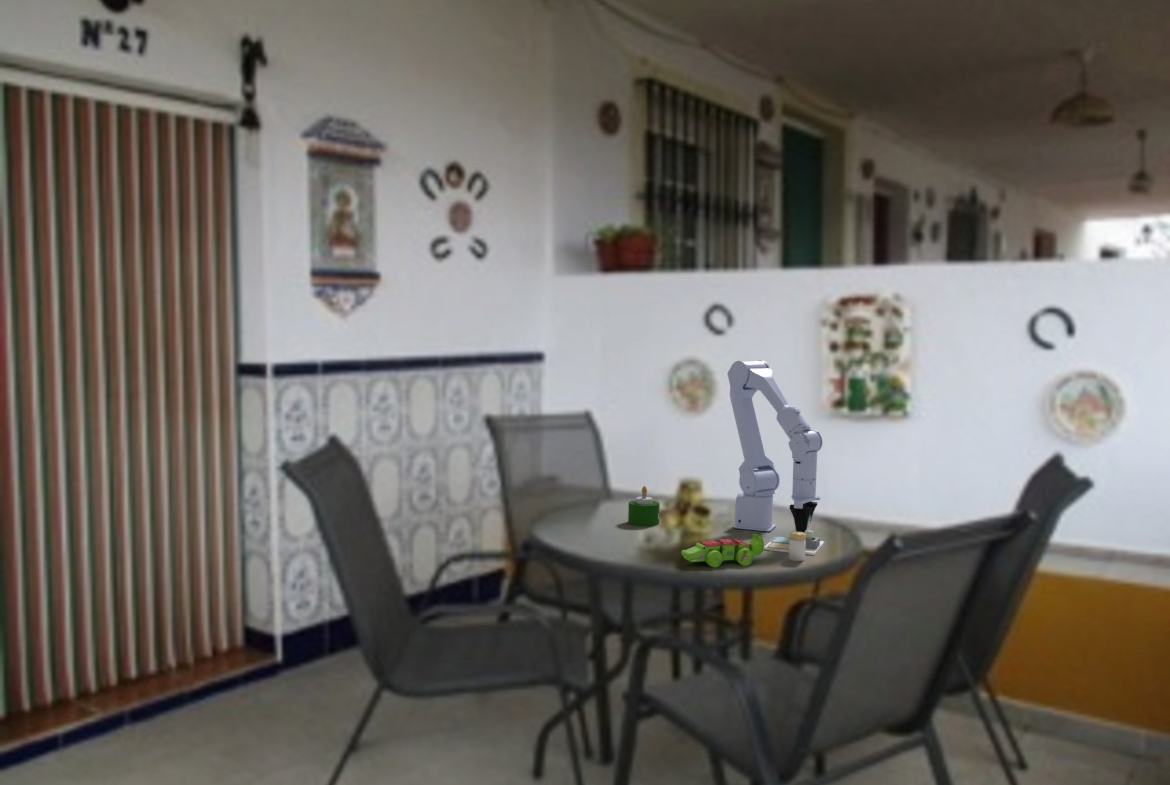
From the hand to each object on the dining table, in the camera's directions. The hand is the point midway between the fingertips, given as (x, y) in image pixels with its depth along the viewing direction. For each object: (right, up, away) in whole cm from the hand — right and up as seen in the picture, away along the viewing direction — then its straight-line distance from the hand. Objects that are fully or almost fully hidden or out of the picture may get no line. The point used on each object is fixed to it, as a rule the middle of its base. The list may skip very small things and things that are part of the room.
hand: (802, 532), depth 250 cm
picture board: (-4, -2, -9) cm, 10 cm away
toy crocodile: (-23, -4, -26) cm, 35 cm away
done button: (-1, 0, -12) cm, 12 cm away
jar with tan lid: (-6, -3, -21) cm, 22 cm away
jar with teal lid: (0, -2, 0) cm, 2 cm away
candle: (-39, 0, +16) cm, 42 cm away
